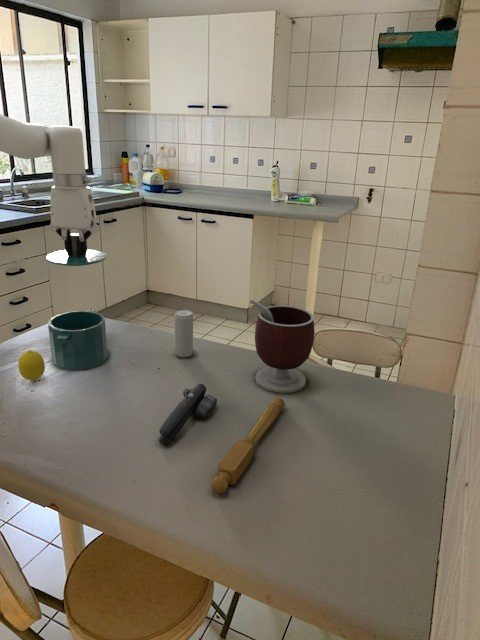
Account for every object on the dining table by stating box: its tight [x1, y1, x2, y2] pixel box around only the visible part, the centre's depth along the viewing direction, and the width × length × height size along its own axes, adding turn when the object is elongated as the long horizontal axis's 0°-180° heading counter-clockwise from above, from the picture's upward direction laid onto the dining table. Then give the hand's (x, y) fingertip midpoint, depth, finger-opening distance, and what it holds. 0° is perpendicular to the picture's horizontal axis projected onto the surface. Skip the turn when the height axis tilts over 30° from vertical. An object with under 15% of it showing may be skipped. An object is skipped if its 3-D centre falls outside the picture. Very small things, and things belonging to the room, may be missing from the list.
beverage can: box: [174, 309, 194, 359], centre depth 122 cm, size 5×5×12 cm
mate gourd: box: [249, 299, 315, 394], centre depth 110 cm, size 16×14×20 cm
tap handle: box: [210, 396, 286, 495], centre depth 89 cm, size 3×3×30 cm
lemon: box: [17, 349, 46, 382], centre depth 107 cm, size 6×6×8 cm
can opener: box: [158, 383, 218, 445], centre depth 94 cm, size 18×7×6 cm, turn 154°
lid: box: [46, 233, 107, 267], centre depth 118 cm, size 14×14×7 cm
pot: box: [47, 309, 109, 371], centre depth 118 cm, size 13×19×10 cm
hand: (76, 254), depth 119 cm, fingers closed on lid, 2 cm apart
